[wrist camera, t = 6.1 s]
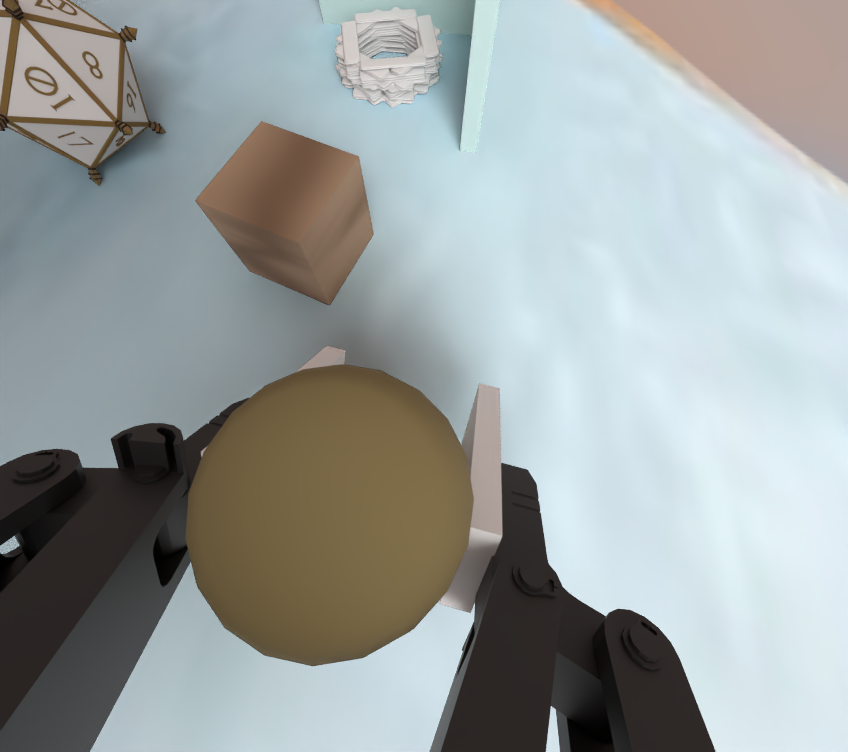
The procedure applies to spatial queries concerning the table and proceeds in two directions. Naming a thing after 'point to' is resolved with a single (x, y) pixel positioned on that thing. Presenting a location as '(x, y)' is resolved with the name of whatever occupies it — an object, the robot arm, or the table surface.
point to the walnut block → (292, 210)
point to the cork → (329, 514)
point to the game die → (68, 81)
